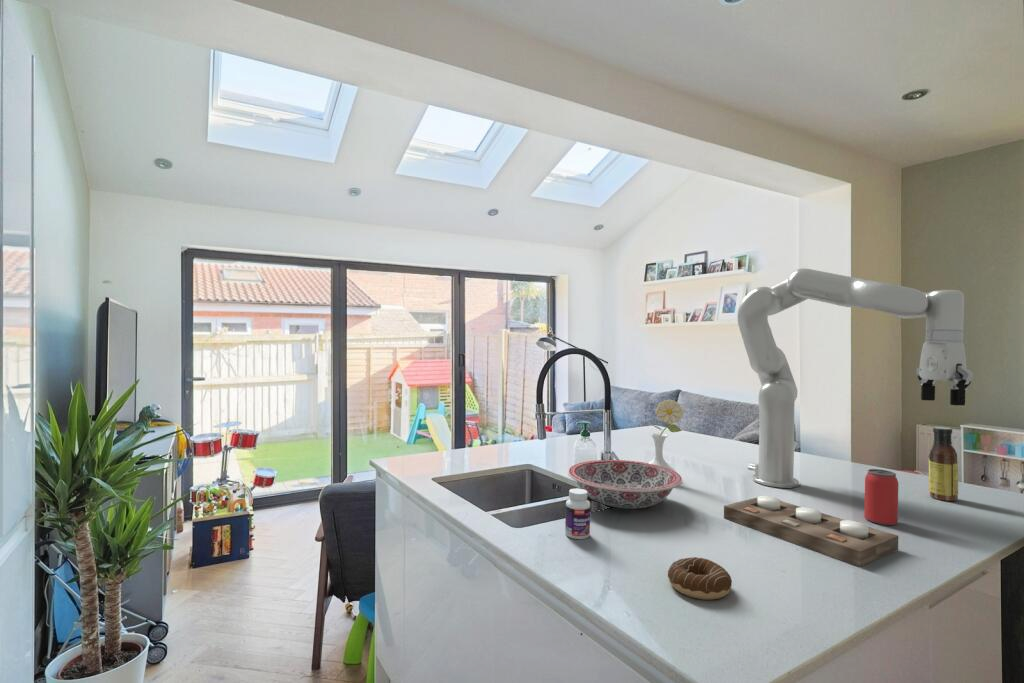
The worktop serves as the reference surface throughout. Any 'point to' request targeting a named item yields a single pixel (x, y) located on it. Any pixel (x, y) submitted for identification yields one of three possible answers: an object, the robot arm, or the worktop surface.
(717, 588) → the donut
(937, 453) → the sauce bottle
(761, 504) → the left button
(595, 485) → the ceramic bowl
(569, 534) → the pill bottle
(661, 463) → the flower in vase
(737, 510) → the button board
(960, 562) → the worktop surface
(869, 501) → the beer can
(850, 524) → the right button
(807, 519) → the middle button
